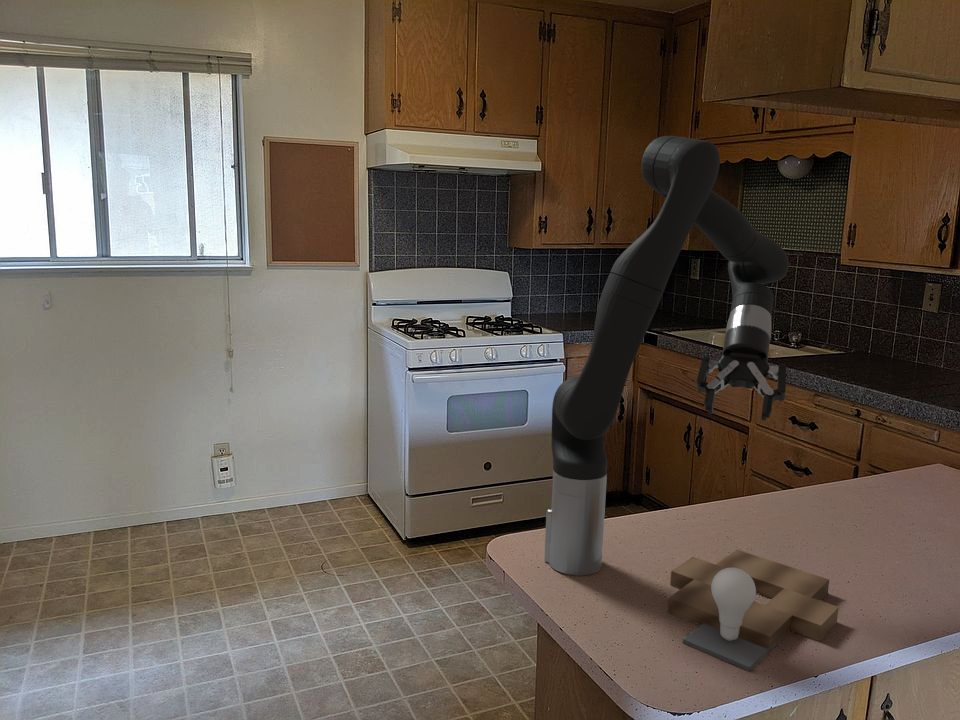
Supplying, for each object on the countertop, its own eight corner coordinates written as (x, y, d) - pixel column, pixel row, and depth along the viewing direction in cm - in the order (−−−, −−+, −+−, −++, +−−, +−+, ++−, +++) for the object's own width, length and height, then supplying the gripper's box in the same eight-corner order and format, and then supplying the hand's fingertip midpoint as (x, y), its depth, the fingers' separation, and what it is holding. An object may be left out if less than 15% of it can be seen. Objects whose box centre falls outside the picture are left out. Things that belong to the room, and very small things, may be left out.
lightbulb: (716, 623, 117) (723, 556, 115) (757, 638, 113) (764, 568, 111) (700, 640, 112) (706, 570, 110) (741, 656, 109) (748, 584, 106)
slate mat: (682, 642, 113) (683, 639, 113) (711, 619, 119) (711, 616, 119) (749, 671, 106) (749, 667, 106) (775, 645, 113) (775, 641, 113)
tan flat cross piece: (644, 602, 124) (645, 588, 124) (713, 555, 142) (714, 542, 141) (797, 664, 108) (799, 648, 108) (854, 602, 126) (856, 588, 125)
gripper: (705, 320, 136) (691, 398, 128) (792, 327, 131) (783, 408, 123) (706, 345, 142) (693, 421, 134) (789, 352, 137) (781, 432, 129)
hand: (736, 414), depth 129 cm, fingers open, 8 cm apart
